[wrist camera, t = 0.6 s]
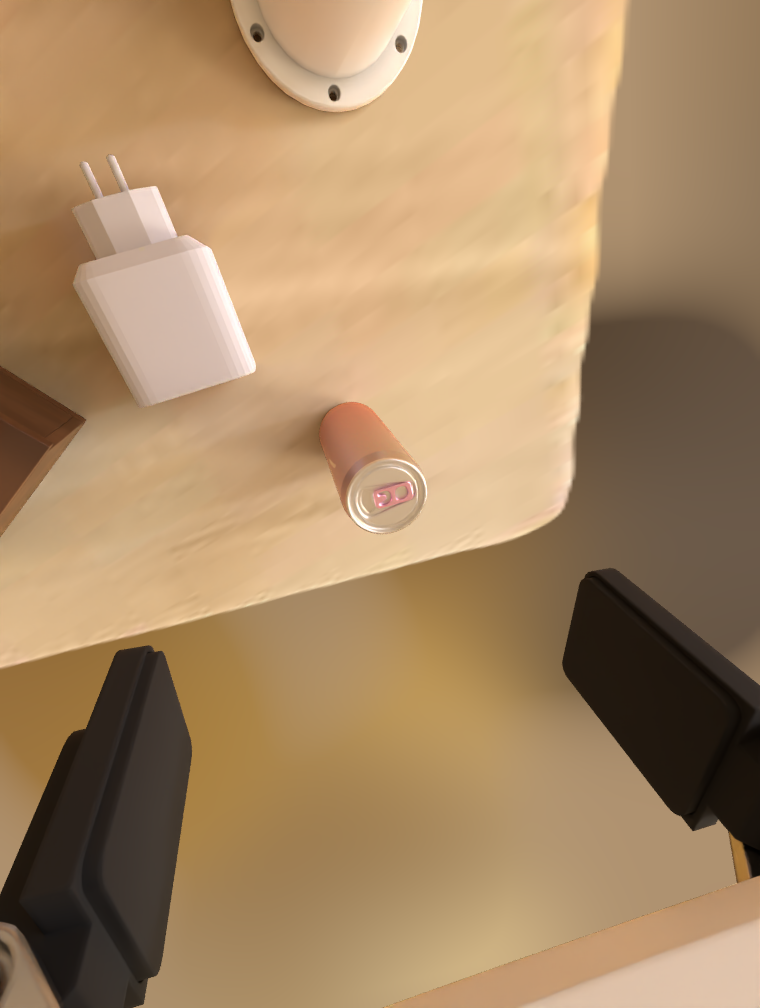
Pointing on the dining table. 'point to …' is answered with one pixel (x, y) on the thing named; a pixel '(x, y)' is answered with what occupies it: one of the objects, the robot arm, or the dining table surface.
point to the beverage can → (371, 469)
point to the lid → (17, 457)
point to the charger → (156, 296)
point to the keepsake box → (35, 430)
